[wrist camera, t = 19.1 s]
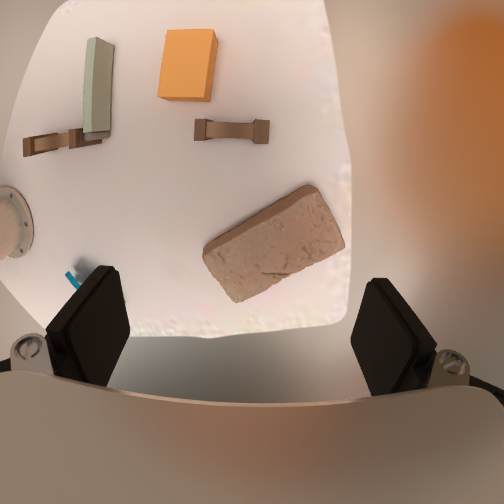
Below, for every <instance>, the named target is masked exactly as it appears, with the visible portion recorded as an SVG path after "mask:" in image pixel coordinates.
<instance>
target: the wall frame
mask: <svg viewBox="0 0 504 504" xmlns="http://www.w3.org/2000/svg"><path fill="white" fill-rule="evenodd" d="M269 126H270V120H257V119H255V120H254V124H253V123H230V122H213V121H212V120H208V119H195V131H194V141H205V140H209V139H212V138H244V139H253V140H252V141H253V143H256V144H268V141H269ZM84 135H85V133H83V128H79V129H72V130H69V133H65V134H59V135H58V133H53V134H46V135H40V136H33V137H28V138H24V139H23V157H27V156H32V155H36V154H40V153H44V152H48V151H53V150H57V149H58V148H59V147H66V146H69V149H72V148H78V147H83V146H88V145H94V144H99V143H102V139H97V140H91V141H85V139H84Z"/></svg>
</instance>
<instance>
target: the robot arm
mask: <svg viewBox="0 0 504 504" xmlns="http://www.w3.org/2000/svg"><path fill="white" fill-rule="evenodd" d="M32 240H33V224H32V218H31V214H30V211H29V209H28V206H27V204H26V202H25V200H24V199H23V198H22V196H21V195H20V194H19V193H18V192H17V191H16V190H15V189H13V188H11V187H5V186H4V187H1V188H0V261H2V260H3V259H4V258H6V257H7V256H10V257H13V258H19V257H21V256H23V255H24V254H25V253H26V252H27V251H28V250H29V249H30V247H31V244H32ZM46 332H47V335H46V336H45V337H43V336H42V335H40V334H37V333H31V334H26V335H24V336H22V337H20V338H19V339H17V340H16V341H15V342H14V343H13V345H12V348H11V351H10V358H9V359H6V360H3V361H1V362H0V504H504V390H502V389H500V388H498V387H496V386H493V385H491V384H489V383H487V382H484V381H482V380H480V379H478V378H475V377H473V376H471V375H470V365H469V363H468V361H467V360H466V358H465V357H464V356H463V355H461V354H460V353H458V352H456V351H454V350H450V349H445V350H440V351H439V352H438V353H437V352H436V351H435V348H436V346H437V343H436V342H435V340H434V339H433V338H432V336H431V335H430V333H429V332H428V330H427V329H426V328H425V326H424V325H423V324H422V322H421V321H420V320H419V318H418V317H417V316H416V314H415V313H414V311H412V309H411V308H410V306H409V305H408V304H407V302H406V301H405V300H404V298H403V297H402V296H401V295H400V293H399V292H398V291H397V290H396V288H395V287H394V286H393V284H392V283H391V282H390V281H389V280H388V279H387V278H373V279H372V280H371V281H370V282H368V283H367V285H366V288H365V292H364V296H363V299H362V303H361V306H360V309H359V313H358V316H357V319H356V323H355V325H354V328H353V332H352V335H351V345H352V348H353V350H354V353H355V355H356V358H357V360H358V363H359V365H360V367H361V370H362V372H363V375H364V377H365V380H366V383H367V385H368V388H369V390H370V392H371V395H372V397H365V398H356V399H348V400H337V401H324V402H310V403H309V402H308V403H280V404H279V403H277V404H253V403H225V402H209V401H196V400H186V399H177V398H168V397H161V396H153V395H147V394H140V393H134V392H129V391H123V390H118V389H113V388H108V387H106V386H107V384H108V382H109V379H110V377H111V374H112V372H113V370H114V368H115V366H116V363H117V361H118V359H119V356H120V354H121V352H122V350H123V348H124V346H125V344H126V341H127V339H128V337H129V335H130V325H129V321H128V316H127V312H126V307H125V302H124V297H123V292H122V286H121V281H120V275H119V272H118V271H117V270H115V268H114V267H113V266H103V265H99V266H98V267H97V268H96V269H95V270H94V271H93V272H92V274H91V275H90V276H89V277H88V278H87V279H86V280H85V281H84V283H83V284H82V285H81V286H80V287H79V288H78V290H77V291H76V292H75V293H74V294H73V295H72V297H71V298H70V299H69V300H68V301H67V303H66V304H65V305H64V306H63V307H62V309H61V310H60V311H59V312H58V314H57V315H56V316H55V317H54V319H53V320H52V321H51V322H50V324H49V325H48V326H47V328H46Z"/></svg>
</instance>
